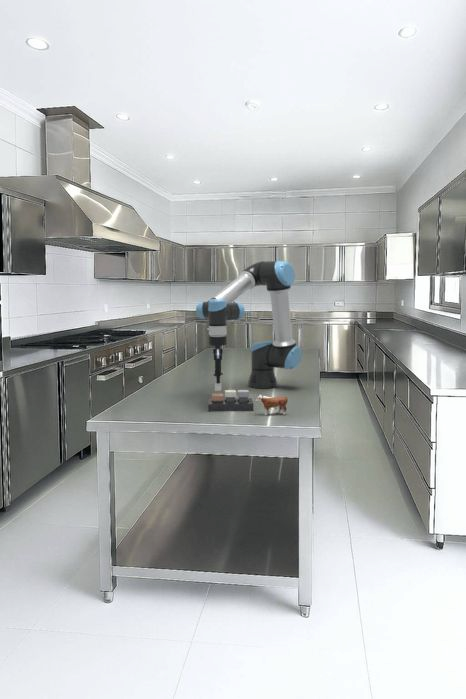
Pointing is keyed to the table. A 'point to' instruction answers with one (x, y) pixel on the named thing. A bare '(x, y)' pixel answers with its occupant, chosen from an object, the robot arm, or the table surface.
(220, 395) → the tan cube
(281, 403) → the bull figurine
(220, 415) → the table surface
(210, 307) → the robot arm
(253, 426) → the table surface
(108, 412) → the table surface
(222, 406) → the keypad base
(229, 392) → the cream key
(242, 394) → the grey key
